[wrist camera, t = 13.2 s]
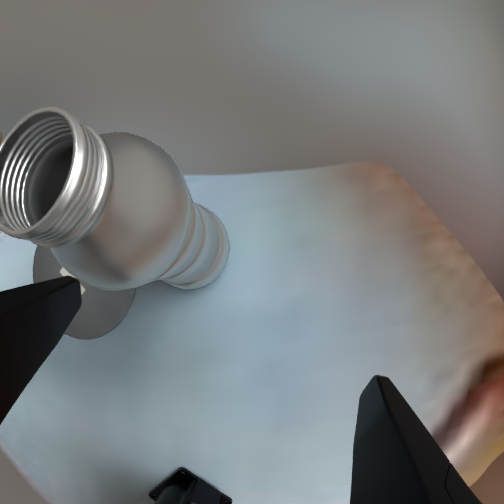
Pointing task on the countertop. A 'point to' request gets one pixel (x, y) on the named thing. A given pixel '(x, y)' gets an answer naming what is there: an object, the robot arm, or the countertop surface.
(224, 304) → the countertop surface
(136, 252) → the silver bottle
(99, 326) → the round gray disc
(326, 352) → the countertop surface
